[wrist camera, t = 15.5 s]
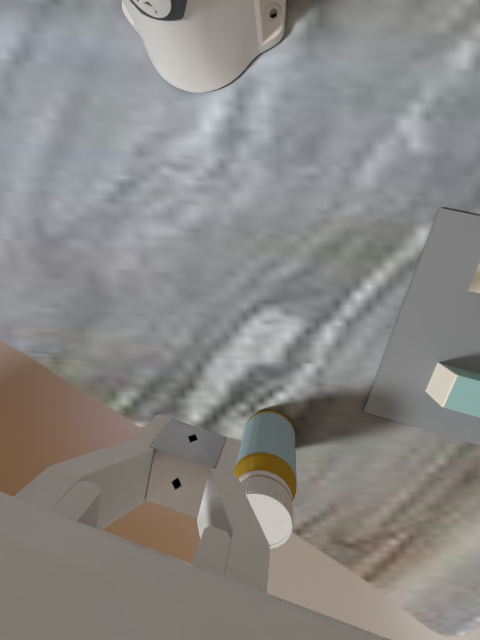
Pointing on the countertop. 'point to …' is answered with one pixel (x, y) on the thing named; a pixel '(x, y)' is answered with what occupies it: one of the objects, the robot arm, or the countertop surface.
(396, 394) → the mat
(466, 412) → the teal block
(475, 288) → the walnut block
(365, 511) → the countertop surface
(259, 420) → the bottle
